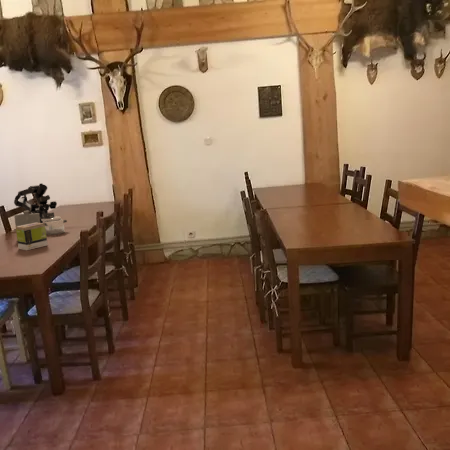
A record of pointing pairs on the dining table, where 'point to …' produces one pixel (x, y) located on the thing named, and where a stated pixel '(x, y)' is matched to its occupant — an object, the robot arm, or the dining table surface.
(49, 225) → the cooker pot
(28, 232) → the tea box
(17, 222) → the hip flask
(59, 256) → the dining table surface
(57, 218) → the cooker lid
